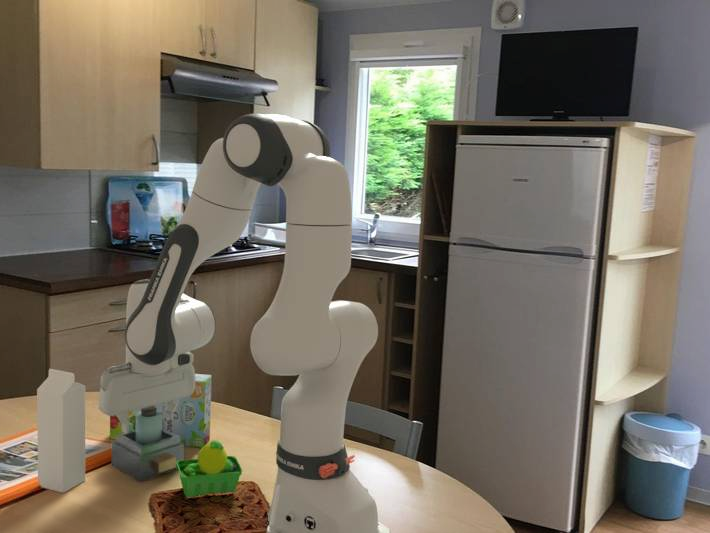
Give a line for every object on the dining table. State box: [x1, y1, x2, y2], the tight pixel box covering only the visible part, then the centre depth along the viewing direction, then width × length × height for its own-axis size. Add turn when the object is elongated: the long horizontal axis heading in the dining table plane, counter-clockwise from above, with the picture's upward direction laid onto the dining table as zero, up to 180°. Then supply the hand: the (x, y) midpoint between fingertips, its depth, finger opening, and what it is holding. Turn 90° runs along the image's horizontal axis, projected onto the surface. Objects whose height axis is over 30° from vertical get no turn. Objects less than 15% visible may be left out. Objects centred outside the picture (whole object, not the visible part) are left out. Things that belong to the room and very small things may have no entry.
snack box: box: [109, 373, 213, 449], centre depth 162 cm, size 21×6×15 cm, turn 84°
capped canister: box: [135, 407, 162, 446], centre depth 148 cm, size 5×5×7 cm
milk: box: [36, 368, 86, 494], centre depth 138 cm, size 6×6×22 cm
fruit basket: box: [176, 439, 243, 498], centre depth 139 cm, size 11×9×11 cm
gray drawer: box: [111, 428, 185, 483], centre depth 148 cm, size 12×10×6 cm
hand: (148, 425), depth 148 cm, fingers open, 8 cm apart
